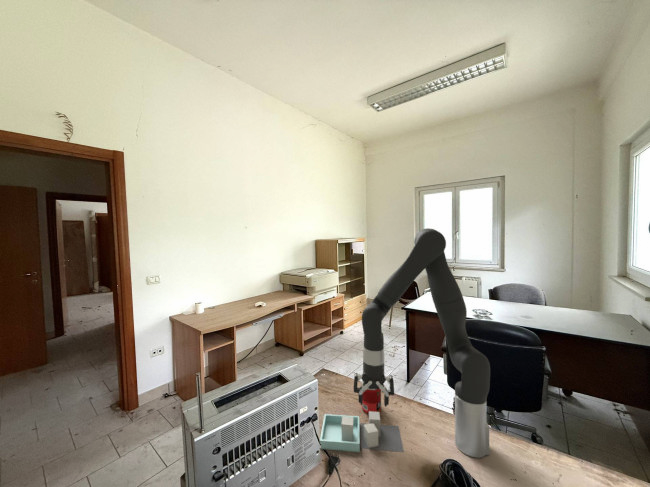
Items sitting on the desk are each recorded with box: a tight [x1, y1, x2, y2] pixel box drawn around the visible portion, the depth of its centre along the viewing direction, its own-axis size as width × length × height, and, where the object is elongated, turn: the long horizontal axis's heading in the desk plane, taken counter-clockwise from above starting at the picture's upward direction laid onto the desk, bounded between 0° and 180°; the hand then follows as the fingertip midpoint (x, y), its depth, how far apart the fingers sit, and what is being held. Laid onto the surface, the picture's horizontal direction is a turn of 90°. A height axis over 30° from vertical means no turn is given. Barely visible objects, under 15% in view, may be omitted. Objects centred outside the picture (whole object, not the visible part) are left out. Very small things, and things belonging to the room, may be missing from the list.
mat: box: [359, 422, 405, 453], centre depth 92 cm, size 14×12×1 cm
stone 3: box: [364, 423, 378, 448], centre depth 90 cm, size 4×4×5 cm
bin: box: [319, 413, 361, 453], centre depth 93 cm, size 13×13×3 cm
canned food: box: [360, 379, 382, 415], centre depth 107 cm, size 8×8×11 cm
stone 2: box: [368, 411, 381, 437], centre depth 95 cm, size 4×4×6 cm
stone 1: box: [341, 416, 354, 442], centre depth 92 cm, size 4×4×6 cm
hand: (373, 404), depth 94 cm, fingers open, 8 cm apart
